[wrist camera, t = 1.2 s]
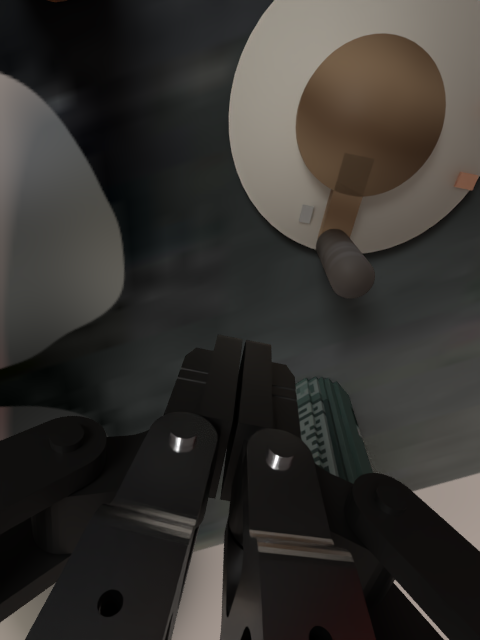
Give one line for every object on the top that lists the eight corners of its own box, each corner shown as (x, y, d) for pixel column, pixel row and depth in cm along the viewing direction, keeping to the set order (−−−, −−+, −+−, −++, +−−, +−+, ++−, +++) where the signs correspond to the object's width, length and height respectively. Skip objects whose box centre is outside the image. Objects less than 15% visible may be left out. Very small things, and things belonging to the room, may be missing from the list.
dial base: (258, -78, 23) (258, -92, 21) (554, -13, 23) (572, -23, 22) (212, 225, 30) (209, 229, 29) (433, 269, 31) (440, 276, 30)
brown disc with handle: (316, 24, 23) (340, -29, 16) (460, 55, 24) (553, 17, 16) (267, 244, 29) (267, 282, 22) (382, 267, 29) (423, 313, 22)
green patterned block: (308, 437, 39) (329, 597, 26) (271, 398, 37) (274, 548, 24) (360, 409, 37) (413, 565, 24) (324, 366, 35) (359, 509, 22)
